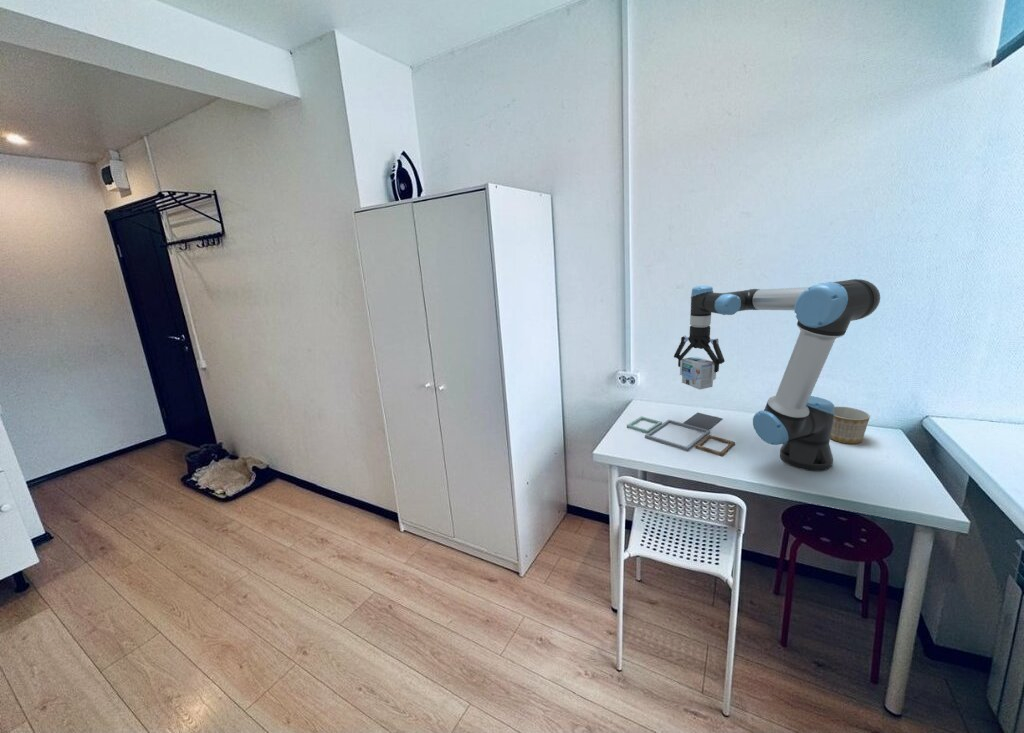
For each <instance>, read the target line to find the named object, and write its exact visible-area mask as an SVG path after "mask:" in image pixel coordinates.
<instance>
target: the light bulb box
mask: <svg viewBox="0 0 1024 733" xmlns="http://www.w3.org/2000/svg"><path fill="white" fill-rule="evenodd" d="M712 364H714V362H713V361H712V360H709V359H705V358H702V357H697V356H691V357H686V358H685V357H684V358H683V369H682V375H681V383H682V384H685V385H687V386H690V387H692V388H695V389H697V390H705V389H711V388H713V386H714V385H713V383H714V380H711V377H712Z"/></svg>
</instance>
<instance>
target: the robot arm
mask: <svg viewBox="0 0 1024 733" xmlns="http://www.w3.org/2000/svg"><path fill="white" fill-rule="evenodd" d="M880 302H881V292H880V291H879V289H878V287H877V286H876V285H875V284H874V283H873V282H871V281H869V280H866V279H859V278H858V279H856V278H854V279H847V280H840V281H833V282H832V281H827V282H826V281H825V282H821V283H818V284H815V285H811V286H809V287H807V286H806V287H789V288H788V287H784V288H762V289H761V288H750V289H745V290H737V291H729V292H715V291H714V288H713V286H711V285H699V286H698V285H696V286H694V287H692V288H691V294H690V314H689V315H690V317H689V325H690V326H689V335H688V336H686V335H683V336H681V338H680V342H679V345H678V347H677V349H676V350H675V353H674V355H673V358H674V359H677V360H678V361H677V366H678V368H679V376H682V369H683V359H684V358H685V357H686V355H688V353H689V352H691V350H692V349H693V348H694V349H700V350H704V351H705V352H706V354H707V356H708V357H709V358H710V359H711V361H713V362H714V364H712V377H711V380H713V381H715V380H716V378H717V373H718V372H719V370H720V364H721V365H722V364H723V363H725V362H726V361H725V358H724V355H723V352H722V350H721V348H720V345H719V339H718V338H715V339H714V338H711V326H710V325H711V323H712V321H711V320H712V314H718V315H722V316H726V315H727V316H732V315H735V314H736V313H737V312H742V311H794V314H796V315H795V318H796V320H797V323H796V327H797V328H798V329H799V330H800V332H799V333H798V336H797V339H796V342H795V345H794V346H793V347H794V348H793V350H792V353H791V355H790V357H789V360H788V362H787V364H786V368H785V370H784V373H783V375H782V378H781V381H780V383H779V385H778V388H777V391H776V394H775V395H773V396H770V397H768V399H767V401H766V405H765V407H764V409H761V410H759V411H757V412H756V413H755V414H754V415H753V417H752V426H753V429H754V430H755V434H756V435H757V437H759V439H761V440H762V441H764V443H767V445H773V446H778V445H782V446H781V447H780V449H779V450H780V451H779V457H780V459H781V460H782V461H783V462H784V463H785V464H787V465H790V466H792V467H794V468H797V469H801V470H805V471H812V472H823V471H827V470H830V469H832V468H833V464H834V456H833V454H832V450H831V449H832V448H831V446H830V442H831V441H830V440H831V439H830V436H831V430H832V424H833V418H834V415H835V413H834V409H835V407H836V406H835V404H834V403H833V402H831V401H830V400H828V399H826V398H823V397H818V396H813V395H812V393H813V391H814V388H815V387H816V385H817V382H818V379H820V378H819V377H820V375H821V372H822V371H823V368H824V366H825V363H826V361H827V359H828V356H829V355H830V352H831V350H832V348H833V345H834V343H835V340H836V339H839V338H842V337H843V336H845V334H846V333H847V330H848V328H849V326H850V324H851V322H853V321H857V320H862V319H865V318H866V317H868V316H870V315H871V314H872V313H874V311H876V310H877V308H878V307H879V305H880ZM686 342H689V345H687V347H686V348H685V349H684V351H683V348H684V346H685V345H686ZM710 344H711V345H712V347H713V349H714V351H713V349H712V348H711V346H710ZM681 352H682V353H681Z"/></svg>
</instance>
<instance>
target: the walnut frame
mask: <svg viewBox="0 0 1024 733" xmlns="http://www.w3.org/2000/svg"><path fill="white" fill-rule="evenodd" d="M709 440H711V441H712V440H713V441H717V442H720V443H723V444H727V446H725V448H723V449H722V450H721V451H720V450H717V449H713V448H710V447H706V446H703V445H704V444H706V443H707V442H708V441H709ZM735 446H736V441H733V440H731V439H726V438H722V437H719V436H715V435H712V434H709V435H707V436H706V437H705V438H704V439H702V440H701V441H700V442H699V443H698V444H696V445H695V446H694V448H695V450H696V449H697V450H699V451H703V452H707V453H709V454H714V455H716V456H720V457H724V455H726V454H727V453H728V452H729V451H730V450H732V448H733V447H735Z"/></svg>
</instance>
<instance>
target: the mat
mask: <svg viewBox="0 0 1024 733" xmlns="http://www.w3.org/2000/svg"><path fill="white" fill-rule="evenodd" d="M721 421H723V418H722V417H719V416H713V415H711V414H706V413H701V412H696V413H694V414H693V415H692V416H691V417H689V418H688V419H686V420H685V421H683V422H682V423H684V424H688V425H691V426H695V427H699V428H703V429H707V430H710V431H711V429H712V428H714V427H715V426H716V425H717V424H719V423H720V422H721Z"/></svg>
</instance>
